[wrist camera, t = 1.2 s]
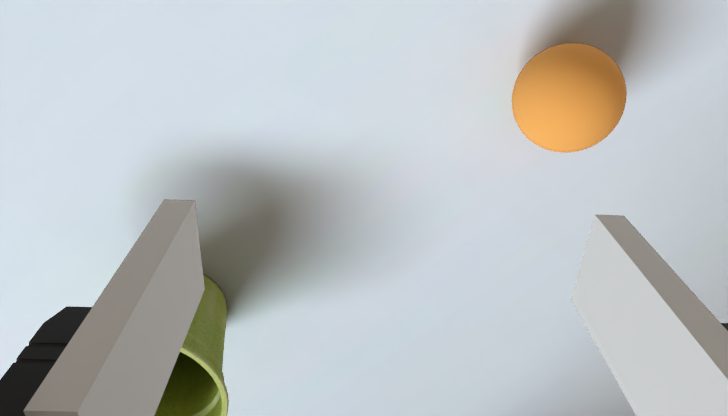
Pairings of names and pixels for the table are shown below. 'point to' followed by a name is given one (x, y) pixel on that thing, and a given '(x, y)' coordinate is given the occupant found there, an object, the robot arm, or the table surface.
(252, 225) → the table surface
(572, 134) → the ball
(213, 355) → the plant pot
